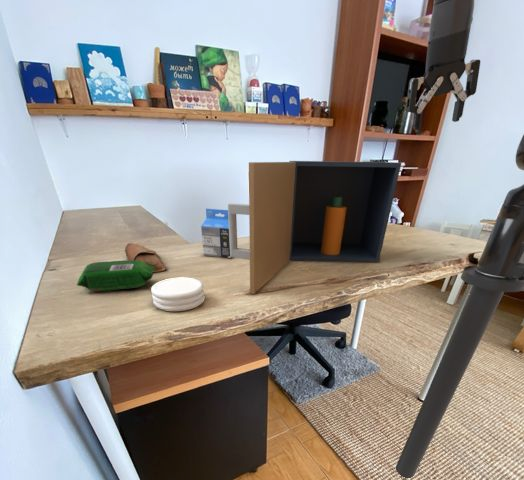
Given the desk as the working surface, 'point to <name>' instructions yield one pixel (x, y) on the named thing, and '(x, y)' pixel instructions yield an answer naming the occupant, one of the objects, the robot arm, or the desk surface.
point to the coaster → (178, 294)
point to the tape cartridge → (216, 234)
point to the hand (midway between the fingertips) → (436, 126)
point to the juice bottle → (333, 227)
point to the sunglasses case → (144, 256)
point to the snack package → (115, 275)
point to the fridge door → (265, 220)
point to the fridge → (354, 198)
